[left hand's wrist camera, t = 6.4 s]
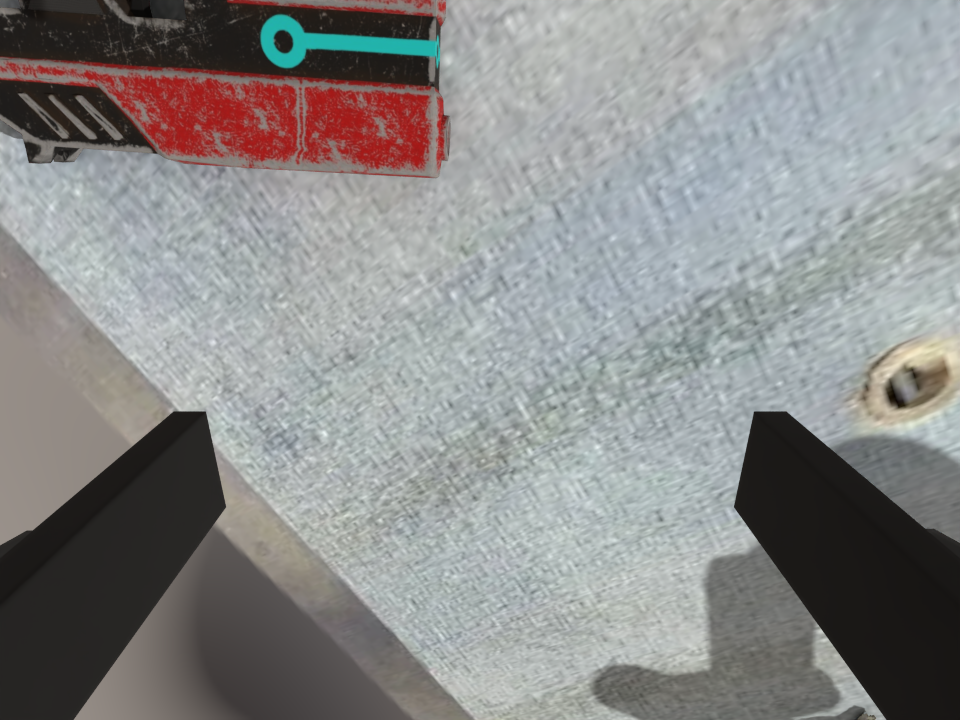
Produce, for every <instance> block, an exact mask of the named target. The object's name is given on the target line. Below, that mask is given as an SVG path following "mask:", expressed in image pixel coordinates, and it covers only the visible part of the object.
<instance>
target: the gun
mask: <svg viewBox="0 0 960 720" xmlns="http://www.w3.org/2000/svg"><path fill="white" fill-rule="evenodd" d="M19 4H20V7H21V9H18V8H3V7H0V120H2V121H3V122H5V123H6V124H8V125H9V126H11V127H12V128H13V129H15V130H16V131H18V132H19V133H21V134H22V136H23V140H24V144H25V148H26V152H27V157H28V161H29V163H39V164H41V163H51V162H52V160H53V159H54V162H74V161H75V160H76V158H77V157H78V156H79V154H80V153H81V151H82V150H83V149H98V150H113V151H127V152H141V153H155V154H159V155H161V156H162V157H164V158H166V159H169V160H173V161H177V162H180V163H184V164H198V165H213V166H228V167H242V168H258V169H277V170H296V171H314V172H332V173H350V174H369V175H387V176H405V177H423V178H438V177H439V174H440V167H441V161H442V160H445V161H448V157H449V147H450V116H445V115H444V111H443V98H442V96H441V95H440V93H439V69H440V33H441V25H442V24H443V22H444V20H445V18H446V0H184V5H185V12H186V20H173V19H158V18H152V14H151V11H150V3H149V0H19Z"/></svg>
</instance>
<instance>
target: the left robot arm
mask: <svg viewBox="0 0 960 720" xmlns="http://www.w3.org/2000/svg"><path fill="white" fill-rule="evenodd" d="M225 508H226V505H225V500H224V495H223V490H222V486H221V481H220V476H219V471H218V467H217V462H216V457H215V453H214V448H213V443H212V438H211V434H210V429H209V424H208V420H207V415H206V412H173V413H171V414H170V415H169V416H168V417H167V418H166V419H164V420H163V421H162V422H161V423H160V424H158V425H157V426H156V427H155V428H154V429H153V430H151V431H150V432H149V433H148V434H147V435H145V436H144V437H143V438H142V439H141V440H140V441H138V442H137V443H136V444H135V445H134V446H132V447H131V448H130V449H129V450H128V451H126V452H125V453H124V454H123V455H122V456H121V457H119V458H118V459H117V460H116V461H115V462H114V463H112V464H111V465H110V466H109V467H108V468H106V469H105V470H104V471H103V472H102V473H100V474H99V475H98V476H97V477H96V478H94V479H93V480H92V481H91V482H90V483H89V484H87V485H86V486H85V487H84V488H83V489H81V490H80V491H79V492H78V493H77V494H76V495H74V496H73V497H72V498H71V499H70V500H68V501H67V502H66V503H65V504H64V505H63V506H61V507H60V508H59V509H58V510H57V511H55V512H54V513H53V514H52V515H51V516H50V517H48V518H47V519H46V520H45V521H44V522H42V523H41V524H40V525H39V526H38V527H36V528H35V529H34V530H33V531H25V532H24V533H22V534H20V535H18V536H16V537H15V538H13V539H11V540H9V541H7V542H6V543H4V544H2V545H0V720H74V718H75V717H76V715H77V714H78V713H79V711H80V710H81V708H82V707H83V706H84V704H85V703H86V702H87V700H88V699H89V697H90V696H91V695H92V693H93V692H94V690H95V689H96V688H97V686H98V685H99V683H100V682H101V681H102V679H103V678H104V676H105V675H106V674H107V672H108V671H109V669H110V668H111V667H112V665H113V664H114V663H115V661H116V660H117V658H118V657H119V656H120V654H121V653H122V651H123V650H124V649H125V647H126V646H127V644H128V643H129V642H130V640H131V639H132V637H133V636H134V635H135V633H136V632H137V630H138V629H139V628H140V626H141V625H142V624H143V622H144V621H145V619H146V618H147V617H148V615H149V614H150V612H151V611H152V609H153V608H154V607H155V605H156V604H157V603H158V601H159V600H160V598H161V597H162V596H163V594H164V593H165V591H166V590H167V589H168V587H169V586H170V584H171V583H172V582H173V580H174V579H175V578H176V576H177V575H178V573H179V572H180V571H181V569H182V568H183V566H184V565H185V564H186V562H187V561H188V559H189V558H190V557H191V555H192V554H193V552H194V551H195V550H196V548H197V547H198V545H199V544H200V543H201V541H202V540H203V538H204V537H205V536H206V534H207V533H208V531H209V530H210V529H211V527H212V526H213V525H214V523H215V522H216V520H217V519H218V518H219V516H220V515H221V513H222V512H223V511H224V509H225ZM734 508H735V509H736V511H737V512H738V513H739V515H740V516H741V518H742V519H743V520H744V522H745V523H746V525H747V526H748V527H749V529H750V530H751V532H752V533H753V534H754V536H755V537H756V538H757V540H758V541H759V543H760V544H761V545H762V547H763V548H764V550H765V551H766V552H767V554H768V555H769V557H770V558H771V559H772V561H773V562H774V564H775V565H776V566H777V568H778V569H779V571H780V572H781V573H782V575H783V576H784V578H785V579H786V580H787V582H788V583H789V584H790V586H791V587H792V589H793V590H794V591H795V593H796V594H797V596H798V597H799V598H800V600H801V601H802V603H803V604H804V605H805V607H806V608H807V610H808V611H809V612H810V614H811V615H812V617H813V618H814V619H815V621H816V622H817V624H818V625H819V626H820V628H821V629H822V630H823V632H824V633H825V635H826V636H827V637H828V639H829V640H830V642H831V643H832V644H833V646H834V647H835V649H836V650H837V651H838V653H839V654H840V656H841V657H842V658H843V660H844V661H845V663H846V664H847V665H848V667H849V668H850V670H851V671H852V672H853V674H854V675H855V676H856V678H857V679H858V681H859V682H860V683H861V685H862V686H863V688H864V689H865V690H866V692H867V693H868V695H869V696H870V697H871V699H872V700H873V702H874V703H875V704H876V706H877V707H878V709H879V710H880V711H881V713H882V714H883V716H884V717H885V718H886V720H960V543H959V542H957V541H955V540H953V539H951V538H949V537H948V536H946V535H944V534H942V533H940V532H939V531H937V530H935V529H925V528H924V527H922V526H921V525H920V524H919V523H918V522H916V521H915V520H914V519H913V518H912V517H911V516H909V515H908V514H907V513H906V512H905V511H903V510H902V509H901V508H900V507H899V506H897V505H896V504H895V503H894V502H893V501H892V500H890V499H889V498H888V497H887V496H886V495H884V494H883V493H882V492H881V491H880V490H879V489H877V488H876V487H875V486H874V485H873V484H871V483H870V482H869V481H868V480H867V479H866V478H864V477H863V476H862V475H861V474H860V473H858V472H857V471H856V470H855V469H854V468H852V467H851V466H850V465H849V464H848V463H847V462H845V461H844V460H843V459H842V458H841V457H839V456H838V455H837V454H836V453H835V452H834V451H832V450H831V449H830V448H829V447H828V446H826V445H825V444H824V443H823V442H822V441H820V440H819V439H818V438H817V437H816V436H815V435H813V434H812V433H811V432H810V431H809V430H807V429H806V428H805V427H804V426H803V425H802V424H800V423H799V422H798V421H797V420H796V419H794V418H793V417H792V416H791V415H790V414H789V413H787V412H754V415H753V420H752V424H751V429H750V434H749V438H748V443H747V448H746V453H745V457H744V462H743V467H742V471H741V476H740V481H739V486H738V490H737V495H736V500H735V505H734Z"/></svg>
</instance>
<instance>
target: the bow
mask: <svg viewBox="0 0 960 720" xmlns="http://www.w3.org/2000/svg"><path fill="white" fill-rule="evenodd" d="M875 719H876V717H875V716H874V715H873V716H871V715H870V716H868V715H867V714H865V715H864V714H862V716H860V717H859V718H858V719H857V720H875Z"/></svg>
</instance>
